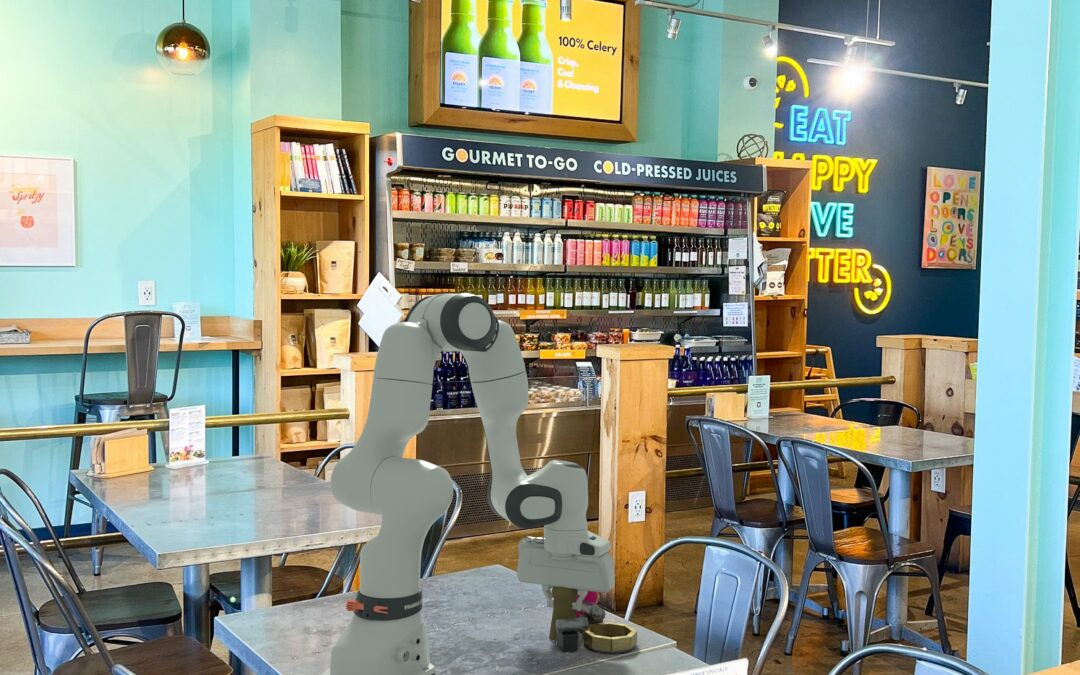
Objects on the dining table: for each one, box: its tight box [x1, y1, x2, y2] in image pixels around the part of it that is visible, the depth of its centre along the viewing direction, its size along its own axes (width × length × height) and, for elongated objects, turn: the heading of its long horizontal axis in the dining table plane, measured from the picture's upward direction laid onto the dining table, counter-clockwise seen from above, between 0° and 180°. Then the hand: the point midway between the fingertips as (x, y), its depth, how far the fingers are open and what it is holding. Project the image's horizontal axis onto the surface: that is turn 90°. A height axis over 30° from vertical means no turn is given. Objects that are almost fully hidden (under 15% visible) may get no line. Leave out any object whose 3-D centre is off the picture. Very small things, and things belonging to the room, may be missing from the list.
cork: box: [548, 586, 580, 642], centre depth 212 cm, size 6×6×11 cm
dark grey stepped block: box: [556, 617, 589, 654], centre depth 206 cm, size 6×4×6 cm, turn 107°
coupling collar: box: [582, 621, 638, 655], centre depth 208 cm, size 10×10×3 cm
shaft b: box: [579, 601, 606, 634], centre depth 215 cm, size 6×4×6 cm, turn 22°
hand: (564, 608), depth 212 cm, fingers closed on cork, 4 cm apart
